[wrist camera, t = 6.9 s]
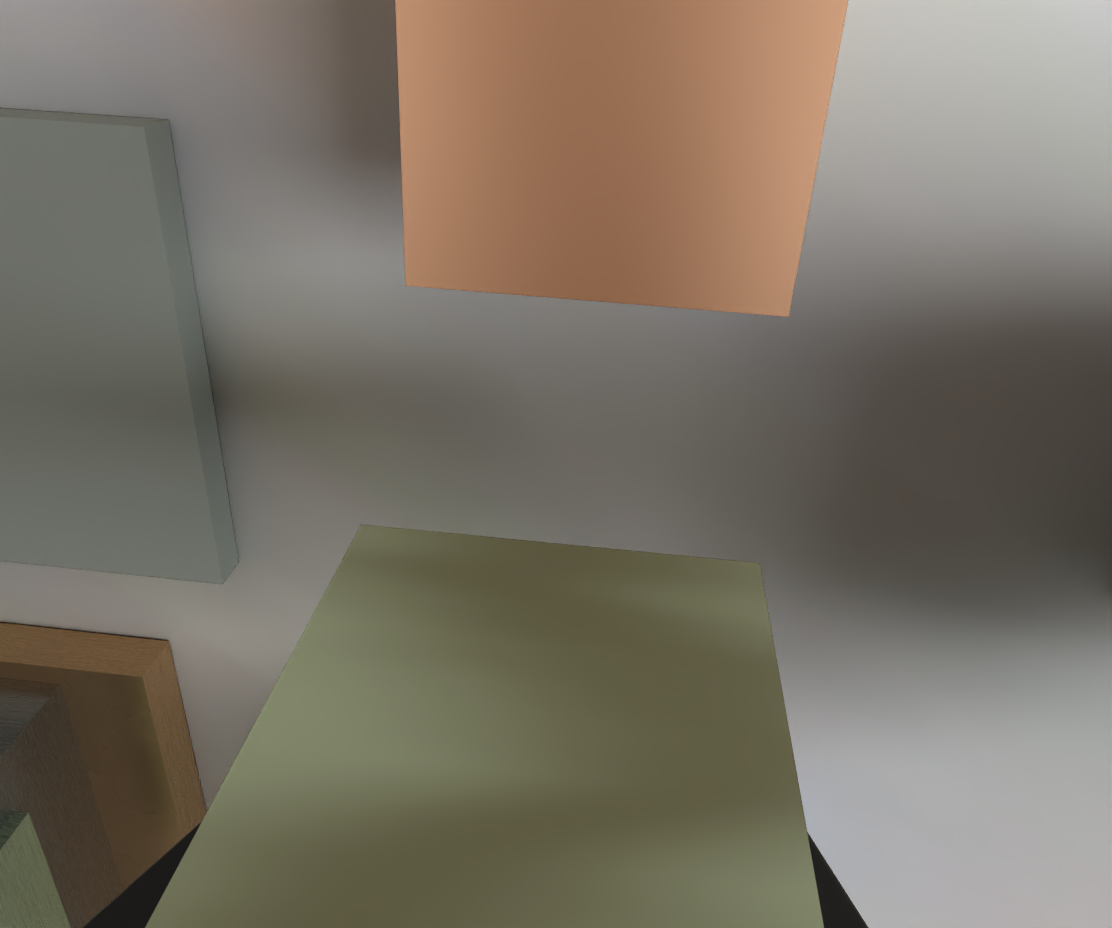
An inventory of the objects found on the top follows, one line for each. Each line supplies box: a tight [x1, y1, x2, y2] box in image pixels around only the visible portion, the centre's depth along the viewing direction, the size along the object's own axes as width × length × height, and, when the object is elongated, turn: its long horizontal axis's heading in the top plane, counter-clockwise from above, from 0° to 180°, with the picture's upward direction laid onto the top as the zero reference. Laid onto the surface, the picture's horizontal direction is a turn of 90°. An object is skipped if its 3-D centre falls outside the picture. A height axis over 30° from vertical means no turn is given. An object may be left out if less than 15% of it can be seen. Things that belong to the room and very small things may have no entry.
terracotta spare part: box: [395, 0, 848, 317], centre depth 11 cm, size 4×4×6 cm
